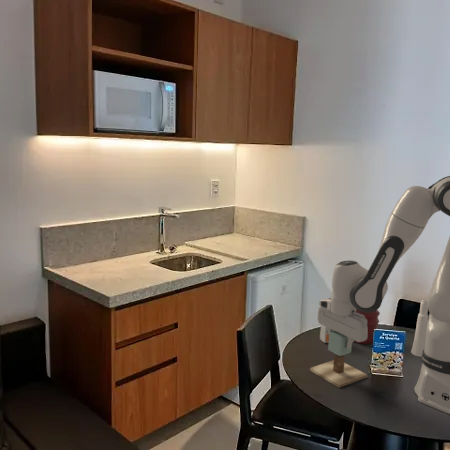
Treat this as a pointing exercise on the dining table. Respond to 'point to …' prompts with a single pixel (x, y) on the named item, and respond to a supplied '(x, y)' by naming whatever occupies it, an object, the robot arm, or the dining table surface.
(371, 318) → the canister
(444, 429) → the dining table surface
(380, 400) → the dining table surface
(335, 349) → the pale green cube
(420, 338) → the cosmetic bottle
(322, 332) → the skincare box
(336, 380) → the post board
